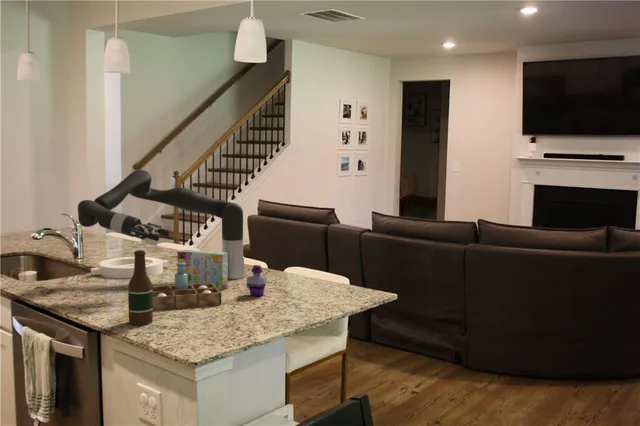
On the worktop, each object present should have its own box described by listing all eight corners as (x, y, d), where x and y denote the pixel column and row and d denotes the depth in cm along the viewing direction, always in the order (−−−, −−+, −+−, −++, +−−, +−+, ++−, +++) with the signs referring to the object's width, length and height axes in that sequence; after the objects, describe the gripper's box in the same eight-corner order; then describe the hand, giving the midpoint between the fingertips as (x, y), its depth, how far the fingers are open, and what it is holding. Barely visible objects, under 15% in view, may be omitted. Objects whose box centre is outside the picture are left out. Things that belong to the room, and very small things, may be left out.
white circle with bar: (171, 267, 290) (171, 257, 289) (149, 280, 262) (149, 269, 262) (115, 265, 292) (115, 256, 292) (88, 277, 265) (87, 267, 264)
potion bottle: (243, 293, 239) (243, 264, 238) (263, 291, 243) (264, 262, 241) (249, 298, 231) (249, 268, 230) (270, 296, 235) (270, 266, 234)
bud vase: (187, 295, 232) (186, 261, 230) (188, 298, 227) (188, 264, 226) (174, 296, 230) (173, 262, 229) (175, 299, 226) (175, 264, 224)
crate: (212, 294, 237) (212, 282, 237) (221, 304, 221) (221, 292, 221) (146, 298, 228) (146, 286, 228) (150, 310, 212) (150, 297, 212)
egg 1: (166, 302, 221) (166, 291, 220) (168, 305, 217) (168, 294, 217) (155, 303, 219) (155, 292, 219) (156, 305, 216) (156, 294, 215)
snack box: (228, 288, 249) (228, 252, 247) (221, 291, 243) (221, 254, 242) (183, 283, 255) (183, 248, 254) (176, 286, 250) (176, 250, 248)
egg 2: (207, 294, 234) (207, 284, 234) (209, 296, 230) (209, 286, 230) (197, 294, 233) (197, 284, 232) (198, 297, 229) (198, 286, 229)
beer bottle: (131, 319, 201) (130, 248, 199) (155, 319, 202) (154, 248, 199) (125, 326, 193) (124, 252, 191) (150, 326, 194) (149, 253, 191)
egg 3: (211, 299, 227) (211, 288, 226) (213, 301, 223) (213, 291, 222) (200, 299, 225) (200, 289, 225) (202, 302, 221) (202, 291, 221)
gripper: (117, 218, 224) (157, 230, 222) (136, 212, 238) (173, 223, 235) (114, 237, 226) (153, 249, 223) (133, 230, 239) (170, 241, 237)
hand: (163, 236), depth 229 cm, fingers open, 8 cm apart
